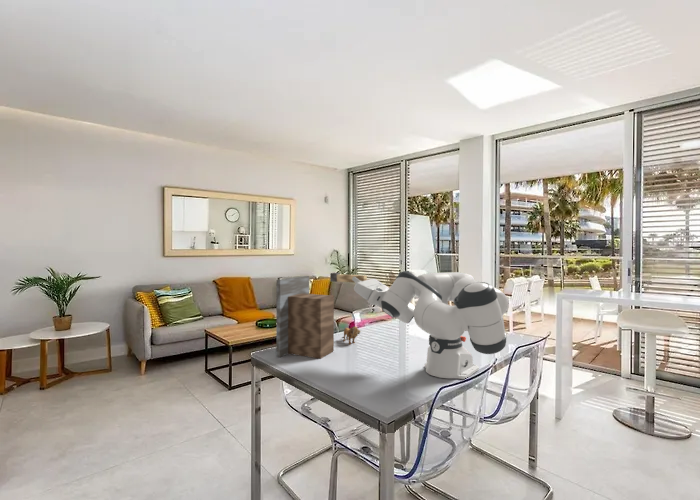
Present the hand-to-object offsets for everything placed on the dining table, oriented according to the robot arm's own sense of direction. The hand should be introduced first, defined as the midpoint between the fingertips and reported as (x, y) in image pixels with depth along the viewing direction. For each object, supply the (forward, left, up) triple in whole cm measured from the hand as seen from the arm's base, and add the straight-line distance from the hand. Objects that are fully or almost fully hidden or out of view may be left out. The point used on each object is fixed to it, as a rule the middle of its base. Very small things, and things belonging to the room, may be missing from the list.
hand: (355, 277), depth 161 cm
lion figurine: (-16, -23, -36) cm, 45 cm away
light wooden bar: (+1, -3, -2) cm, 4 cm away
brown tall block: (+10, -21, -35) cm, 42 cm away
